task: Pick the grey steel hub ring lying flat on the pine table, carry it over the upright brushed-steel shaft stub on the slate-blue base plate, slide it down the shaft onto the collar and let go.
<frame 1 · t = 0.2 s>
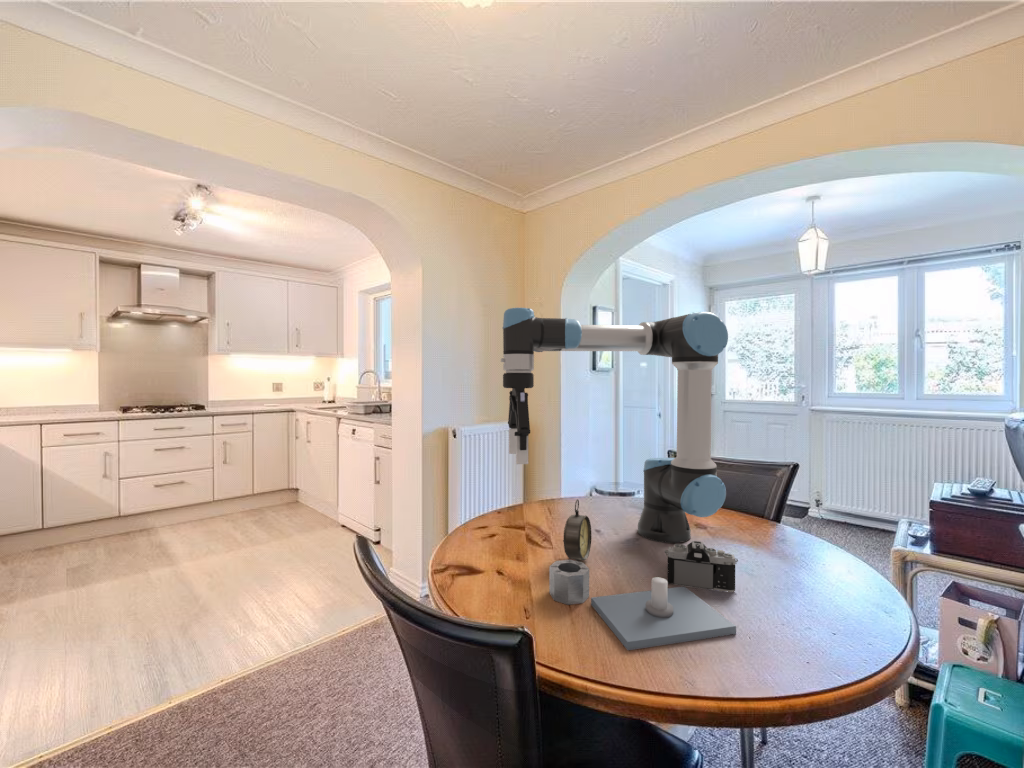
hand: (518, 458, 110), 28 cm above the table, fingers open, 13 cm apart
hub: (569, 594, 98), on the table
camera: (699, 583, 104), on the table
shaft block: (659, 618, 88), on the table
alarm clock: (576, 562, 115), on the table
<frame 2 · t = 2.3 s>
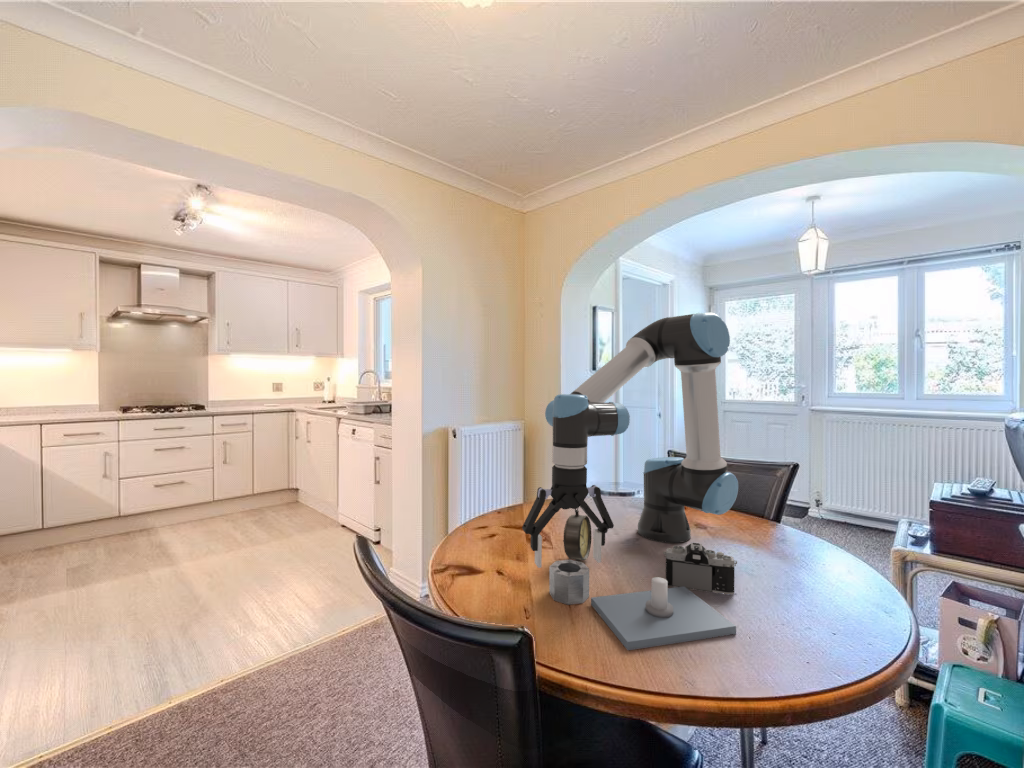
hand: (567, 562, 97), 7 cm above the table, fingers open, 13 cm apart
camera: (698, 585, 103), on the table
everything else where it was.
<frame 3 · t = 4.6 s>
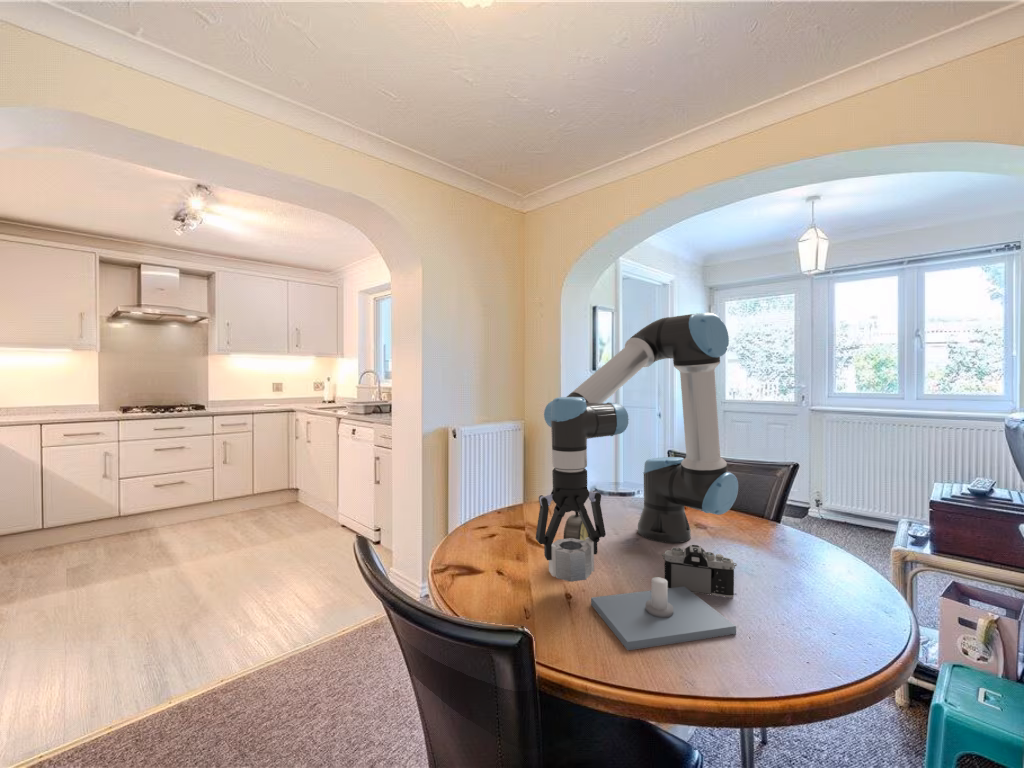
hand: (571, 571, 98), 5 cm above the table, fingers closed on hub, 8 cm apart
hub: (571, 572, 98), point 5 cm above the table, touching gripper
camera: (697, 587, 102), on the table
everything else where it was.
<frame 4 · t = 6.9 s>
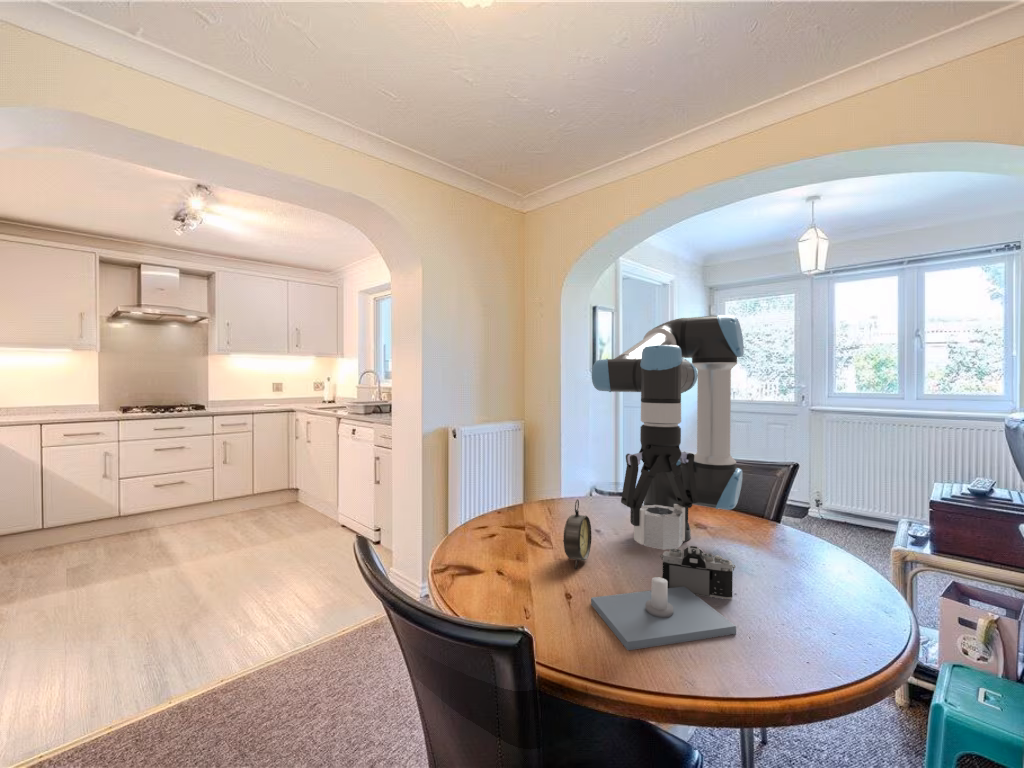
hand: (659, 540, 88), 16 cm above the table, fingers closed on hub, 8 cm apart
hub: (659, 541, 88), point 15 cm above the table, touching gripper
camera: (696, 589, 101), on the table
everything else where it was.
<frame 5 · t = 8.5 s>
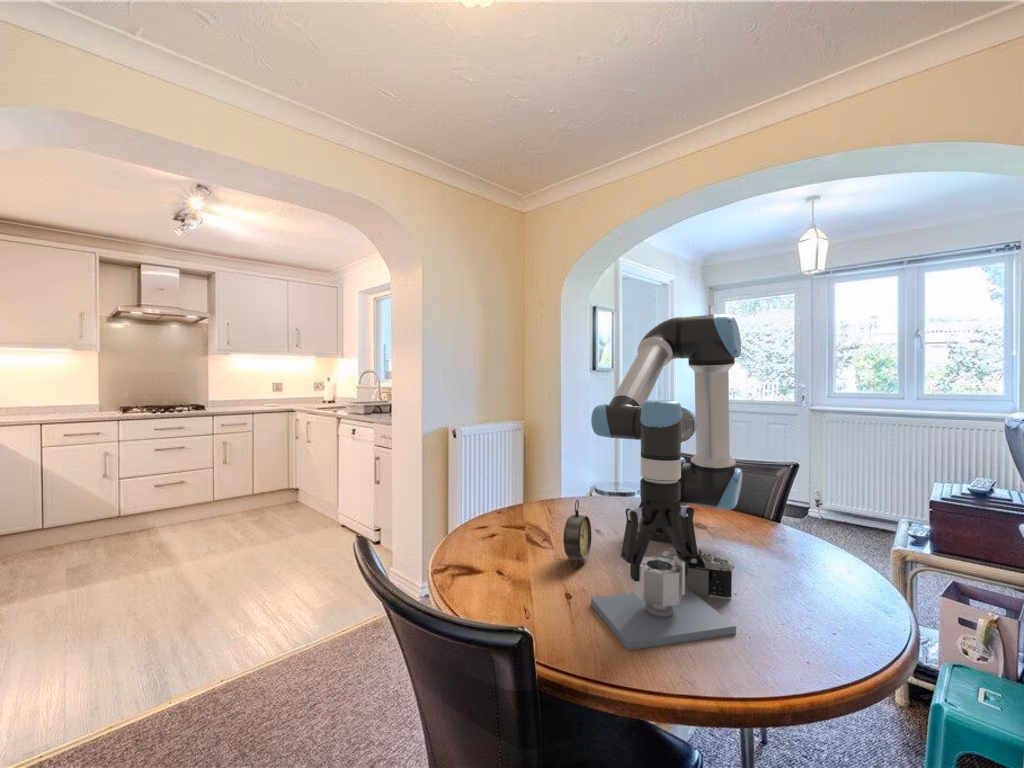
hand: (659, 593, 88), 5 cm above the table, fingers closed on hub, 8 cm apart
hub: (659, 595, 88), point 5 cm above the table, touching gripper
everything else where it was.
when the fingers open (3 cm above the table, at t = 9.4 s): hub stays where it is, resting on shaft block.
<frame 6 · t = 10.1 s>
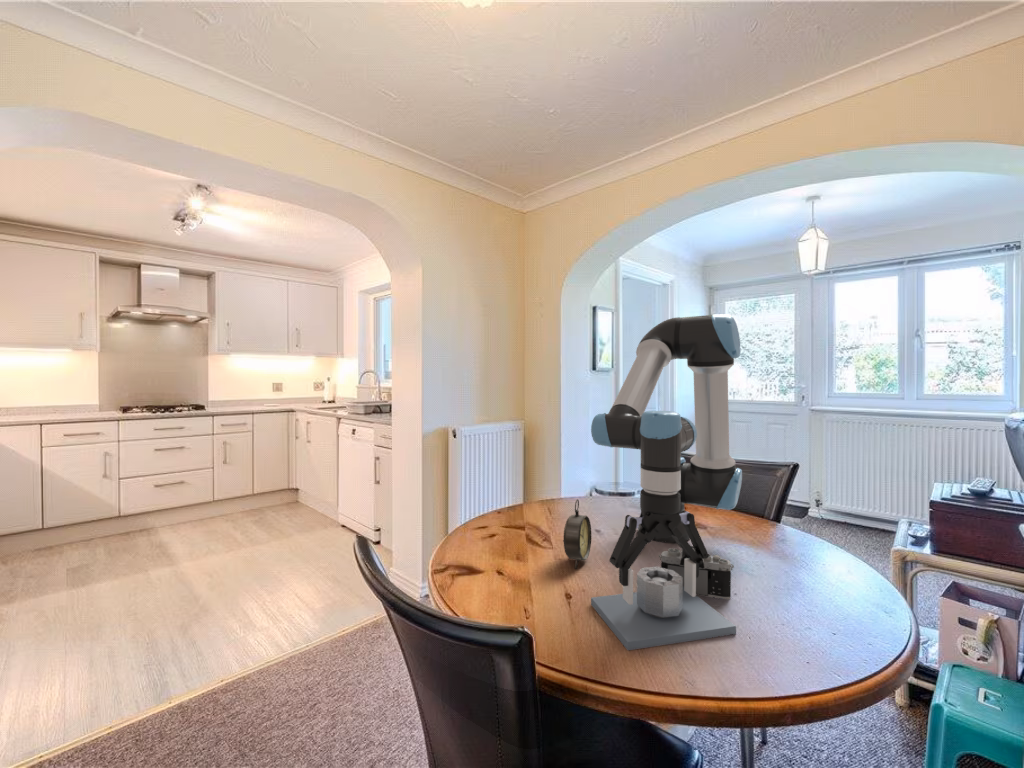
hand: (659, 597, 88), 4 cm above the table, fingers open, 13 cm apart
hub: (659, 605, 88), point 2 cm above the table, touching shaft block
everything else where it was.
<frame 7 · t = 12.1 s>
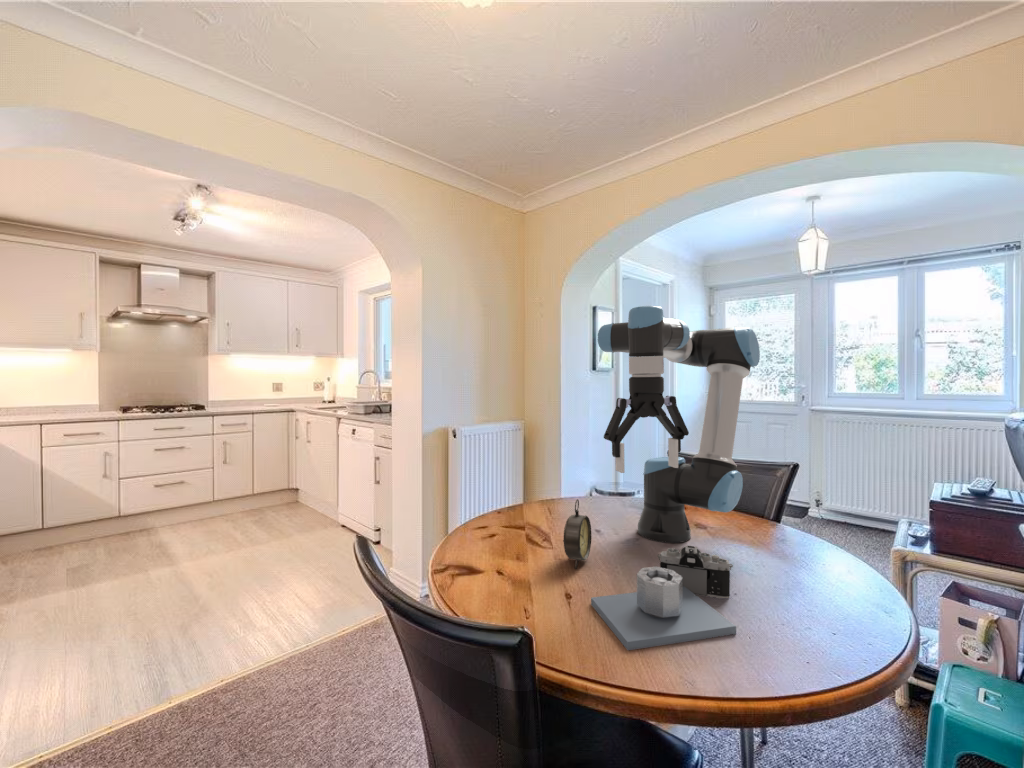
hand: (647, 469, 102), 27 cm above the table, fingers open, 13 cm apart
nothing on the table moved.
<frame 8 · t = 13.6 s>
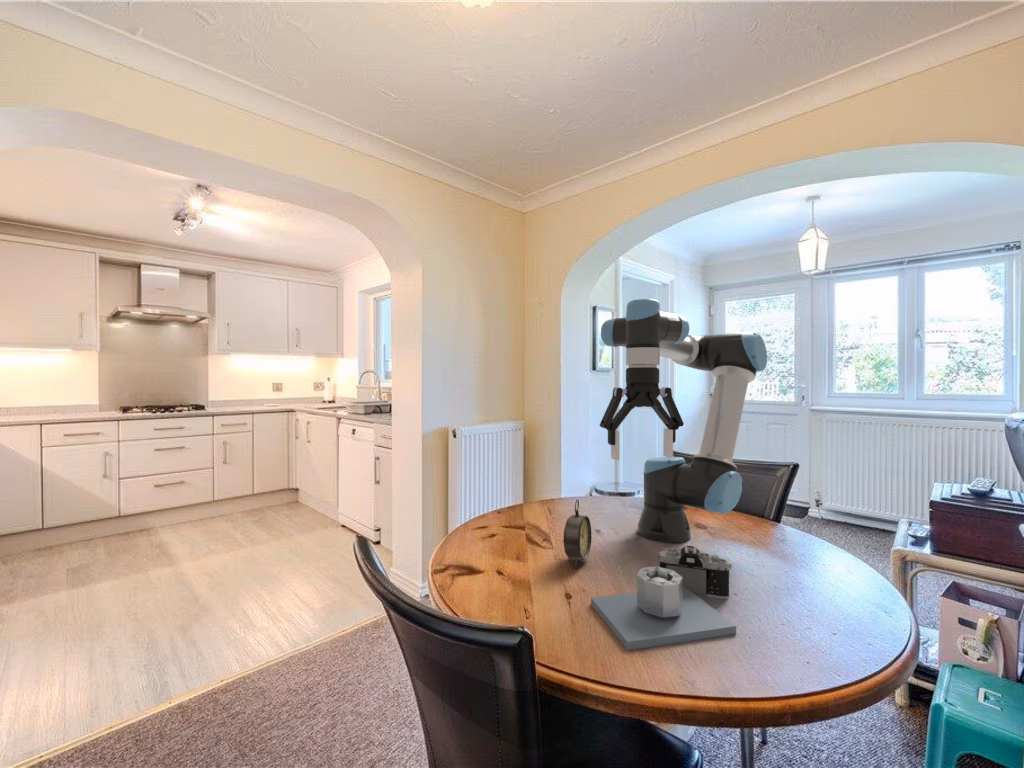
hand: (641, 457, 104), 29 cm above the table, fingers open, 13 cm apart
nothing on the table moved.
at the end: hub 0.0 cm off-centre on the shaft block, point 2.5 cm above the shaft block's base; hub tilted 0°; the gripper is holding nothing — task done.
